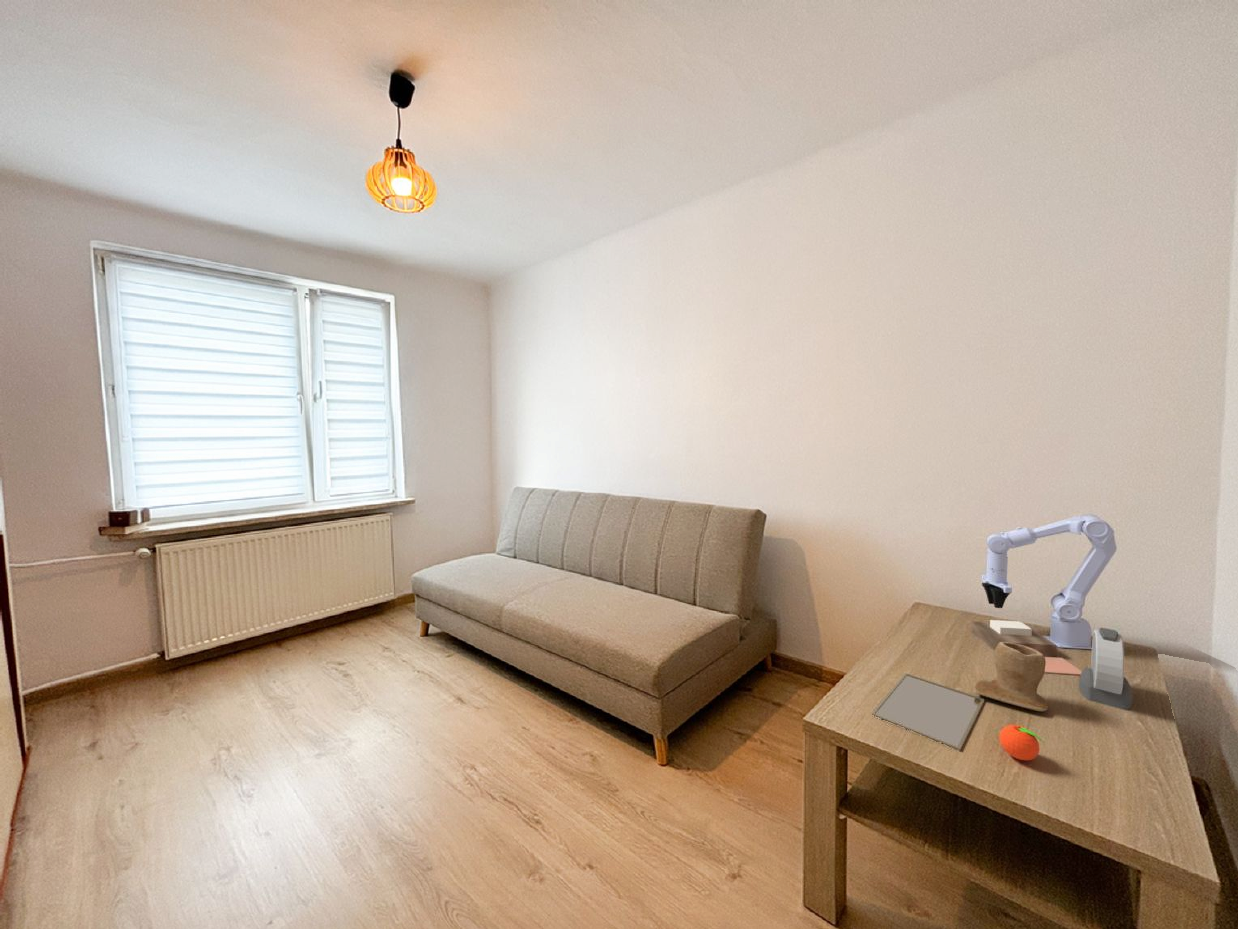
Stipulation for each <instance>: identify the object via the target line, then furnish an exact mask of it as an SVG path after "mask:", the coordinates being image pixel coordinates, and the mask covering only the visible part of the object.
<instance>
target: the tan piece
mask: <svg viewBox="0 0 1238 929" xmlns="http://www.w3.org/2000/svg"><path fill="white" fill-rule="evenodd" d="M993 654H994V663H995V668H996V677H995V678H994V679H993V680H992V679H987V678H986V679H984V678H983V679H979V680H977V681H976V683H975V685H974V688H973V690H974V691H973V692H974V694H977V695H979V696H983V697H986V698H990V699H992V700H996V701H999V702H1002V703H1006V704H1010V705H1013V706H1017V707H1021V708H1025V709H1027V710H1031V711H1032V710H1033V711H1035V712H1036V711H1037V712H1046V711H1047V710H1048V708H1049V704H1048V702H1047V700H1046V699H1045V698H1044V697H1043V696H1041V695H1039V694H1038V691H1037V690H1038V686H1039V684H1040V683H1041V681H1042V680H1043V677H1044V675H1045V674H1046V673H1045V665H1046V660H1045V657H1044V656H1043V655H1042V654H1041V653H1040V652H1038V651H1037V650H1034V649H1032V648H1029V647H1026V646H1023V645H1019V644H1015V643H1009V642H1000V643H998V645H997V647H996V649H995V651H994V653H993Z"/></svg>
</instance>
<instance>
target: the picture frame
mask: <svg viewBox="0 0 1238 929" xmlns="http://www.w3.org/2000/svg"><path fill="white" fill-rule="evenodd" d="M985 701H986V699H985V698H984V697H983V698H982V697H979V696H976V695H973V694H972V693H967V692H964V691H962V690H958V689H955V688H953V687H949V686H946V685H943V684H940V683H937V682H934V681H930V680H928V679H926V678H921V677H918V676H915V675H913V674H909V673H906V672H905V673H904V674H903V675H902V676H901V677H900V679H899V680H897V682H896V683H895V685H893V687H892V688H891V690H889V692H888V693H887V694H886V695H885V697H883V699H881V701H880V703H878V704H877V706H876V707H875V708H874V709H873V711H872V712H871V713H870V715H871V714H872V715H874V716H876V717H879V718H881V719H883V720H885V721H888V722H891V723H893V724H895V725H899V726H901V727H904V728H905V729H908V730H912V731H914V732H916V733H918V734H921V735H922V736H925V737H927V738H930V739H932V740H934V741H933V742H935V741H936V742H935V743H937V742H941V743H943V744H945V745H947V746H949V747H948V748H950V747H952V748H954V749H953V750H955V749H956V750H955V751H957V750H959V751H958V752H961V751H960V750H962V749H963V747H962V746H964V745H963V744H965V742H966V740H967V738H968V736H969V734H970V732H971V730H972V727H973V725H975V721H976V720H977V718H978V716H979V713H980V712H981V709H982V707H983V706H984V703H985ZM883 720H882V721H883ZM885 721H884V722H885ZM888 722H887V723H888ZM893 724H892V725H893ZM895 725H894V726H895ZM905 729H904V730H905ZM908 730H907V731H908ZM922 736H921V737H922ZM925 737H924V738H925ZM927 738H926V739H927ZM930 739H929V740H930ZM932 740H931V741H932ZM945 745H944V746H945ZM947 746H946V747H947ZM952 748H951V749H952ZM961 748H962V749H961Z"/></svg>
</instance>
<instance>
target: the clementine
mask: <svg viewBox="0 0 1238 929" xmlns="http://www.w3.org/2000/svg"><path fill="white" fill-rule="evenodd" d="M998 736H999V742H1000V745H1001V747H1002V748H1003V750H1005V752H1006V753H1007V754H1008V755H1009V756H1011V757H1013V758H1015V759H1017V760H1020V761H1031V760H1033V759H1035V758H1037V756H1038V755H1039V753H1040V743H1039V741H1038V740H1040V741H1041V742H1042V744H1043V745H1044V747H1045V748H1047V746H1046V744H1045V742H1044V740H1042V738H1041V737H1040V736H1038V735H1037V734H1036V733H1034V732H1033V731H1031V730H1029V729H1027V728H1025V727H1024V726H1021V725H1017V724H1010V725H1009V724H1008V725H1005V726H1004V727H1003V728H1002V729H1001V730H1000V732H999V735H998Z"/></svg>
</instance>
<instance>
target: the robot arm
mask: <svg viewBox="0 0 1238 929" xmlns="http://www.w3.org/2000/svg"><path fill="white" fill-rule="evenodd" d="M1065 533H1071V534H1075V535H1081V536H1082V533H1083V534H1084V535H1085V536H1086V537H1087V539H1088V541H1089V542H1090V544H1091V546H1092V547H1091V548H1090V549H1089V551H1088V553H1087V555H1086V556H1085V557H1084V559H1083V561H1082V562H1081V564H1080V565H1079V566H1078V569H1077V570H1076V571H1075V573H1074V574H1073V576H1072V578H1071V579H1070V581H1069V582H1068V584H1067V586H1066V587H1064V588H1061V590H1060V592H1059V593H1057V594H1056V595H1053V596H1052V598H1051V599H1050V604H1051V606H1052V608H1053V611H1052V612H1051V613H1050V625H1049V626H1050V627H1049V628H1050V629H1049V630H1050V631H1049V635H1042V636H1043V637H1045V638H1046V639H1048V640H1049V641H1051V642H1052V643H1054V644H1056V645H1057V647H1058V648H1060V649H1061V648H1063V649H1079V650H1080V649H1083V650H1092V642H1091V641H1092V627H1091V624H1090V623H1089V621H1088V620H1087V619H1085V618H1082V616H1083V607H1084V606H1085V604H1086V598H1087V596H1088V593H1089V592H1090V591H1091V589H1092V587H1093V586H1094V585H1095V583H1096V582H1097V580H1098V579H1099V577H1100V576H1101V575H1102V572H1104V570H1105V568H1106V567H1107V565H1108V564H1109V562H1110V561H1111V559H1112V558H1113V557H1114V555H1115V553H1116V552H1117V544H1116V539H1115V530H1114V529H1113V528H1112V526H1110V524H1109V523H1108V522H1107V521H1106V520H1103V519H1102V518H1100V517H1099V516H1098V515H1094V514H1090V513H1088V514H1083V515H1080V516H1079V515H1077V516H1073V517H1068V518H1065V519H1062V520H1059V521H1056V522H1052V523H1049V524H1046V525H1042V526H1039V527H1038V526H1037V527H1036V528H1030V527H1027V526H1025V527H1022V526H1018V527H1016V529H1013V530H1010V531H1006V532H1005V531H1000V533H993V534H991V535H989V536H988V537H987V539H986V544H987V546H988V547H987V554H986V570H985V571H986V573H983V574H981V580H982V583H981V586H982V587H983V589H984V592H985V595H986V598H987V602H988V604H989V605H993V606H994V608H996V609H1003V608H1004V604H1005V602H1006V600H1007V598H1008V596H1009V595H1010V594H1012V593H1013V588H1012V586H1010V584H1009V582H1008V561H1009V560H1008V551H1010V549H1016V548H1020V547H1023V546H1028V545H1032V544H1035V543H1036V541H1037V540H1038V539H1041V538H1046V537H1051V536H1055V535H1056V536H1057V535H1061V534H1065ZM1057 647H1056V648H1057Z"/></svg>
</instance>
